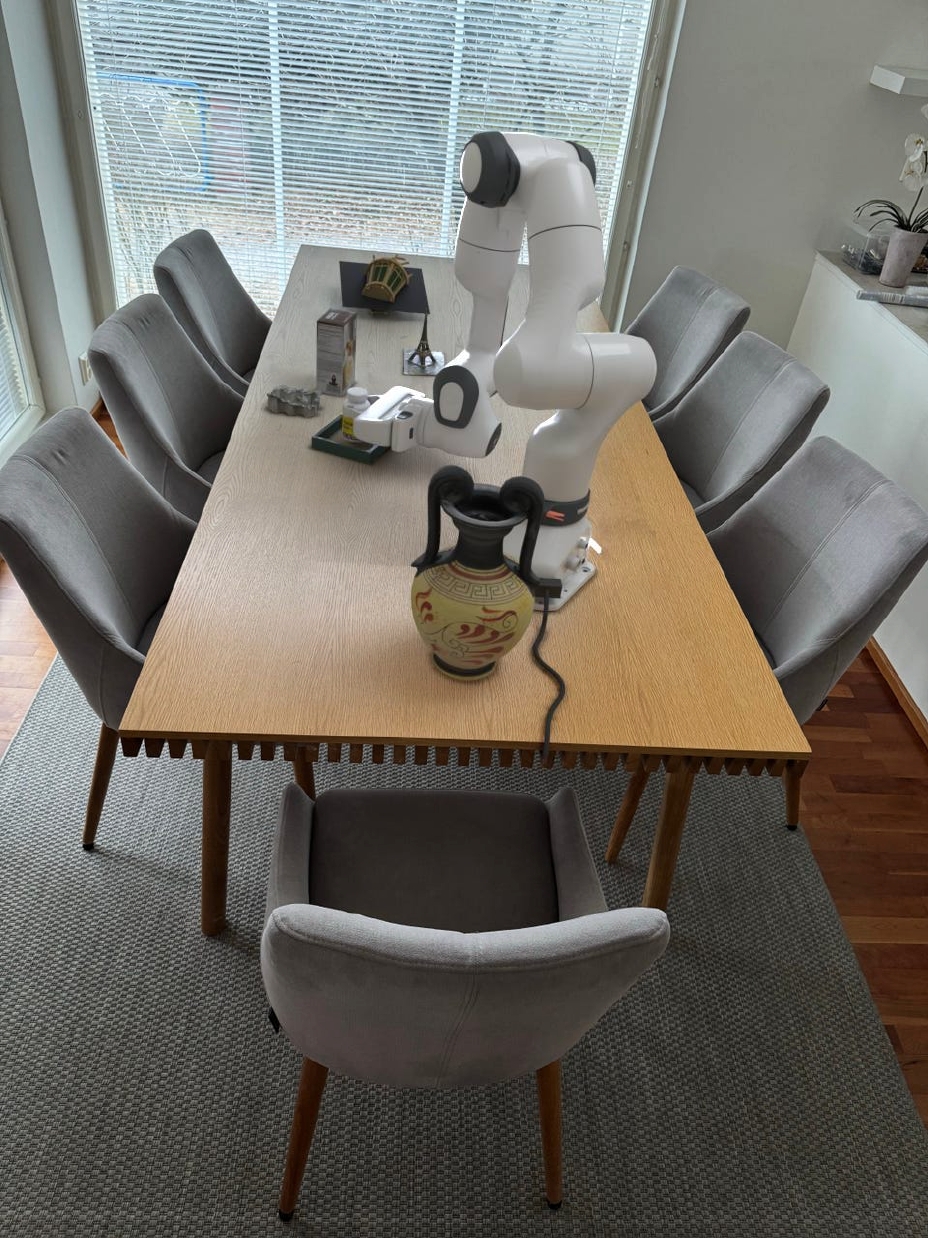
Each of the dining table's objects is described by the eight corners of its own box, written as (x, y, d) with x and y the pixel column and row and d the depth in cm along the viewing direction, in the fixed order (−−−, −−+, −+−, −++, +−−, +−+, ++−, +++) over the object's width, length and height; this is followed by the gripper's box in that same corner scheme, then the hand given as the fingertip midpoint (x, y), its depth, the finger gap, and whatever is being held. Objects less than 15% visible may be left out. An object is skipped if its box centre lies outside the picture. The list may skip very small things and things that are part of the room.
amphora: (519, 628, 143) (551, 450, 125) (529, 702, 129) (566, 513, 112) (404, 621, 141) (420, 439, 124) (402, 694, 128) (419, 502, 110)
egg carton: (264, 412, 195) (263, 393, 192) (275, 398, 201) (274, 379, 198) (314, 419, 194) (314, 401, 192) (323, 405, 200) (324, 387, 198)
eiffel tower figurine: (446, 377, 220) (452, 321, 212) (403, 374, 219) (408, 317, 211) (443, 353, 232) (448, 299, 224) (402, 350, 231) (406, 296, 223)
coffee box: (328, 377, 213) (329, 306, 203) (355, 382, 212) (358, 311, 203) (315, 392, 205) (316, 319, 196) (343, 397, 205) (345, 325, 195)
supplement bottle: (337, 440, 184) (338, 392, 179) (348, 429, 189) (349, 383, 183) (363, 445, 183) (365, 398, 178) (373, 435, 188) (375, 388, 182)
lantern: (338, 330, 248) (335, 267, 266) (423, 343, 254) (414, 280, 272) (345, 285, 238) (342, 222, 256) (434, 300, 244) (424, 237, 262)
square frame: (369, 464, 181) (370, 453, 179) (311, 447, 184) (311, 436, 182) (396, 439, 191) (397, 429, 189) (340, 424, 193) (340, 414, 192)
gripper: (439, 387, 185) (376, 372, 189) (397, 424, 169) (328, 406, 173) (436, 417, 189) (374, 401, 192) (395, 456, 173) (328, 438, 176)
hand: (352, 404), depth 182 cm, fingers closed on supplement bottle, 5 cm apart
